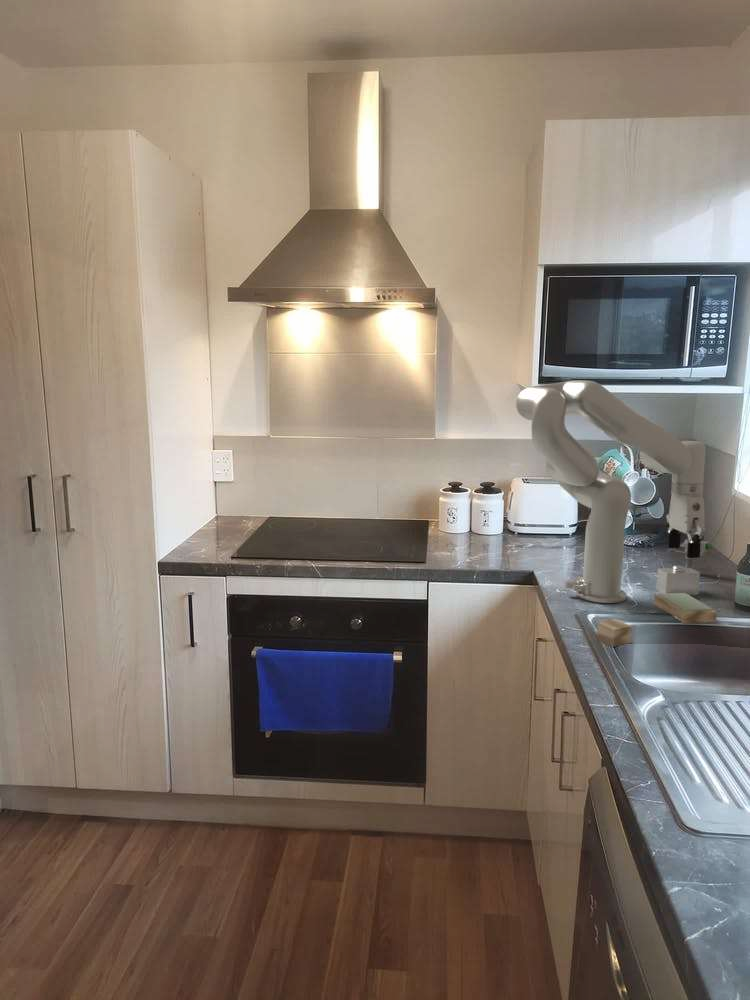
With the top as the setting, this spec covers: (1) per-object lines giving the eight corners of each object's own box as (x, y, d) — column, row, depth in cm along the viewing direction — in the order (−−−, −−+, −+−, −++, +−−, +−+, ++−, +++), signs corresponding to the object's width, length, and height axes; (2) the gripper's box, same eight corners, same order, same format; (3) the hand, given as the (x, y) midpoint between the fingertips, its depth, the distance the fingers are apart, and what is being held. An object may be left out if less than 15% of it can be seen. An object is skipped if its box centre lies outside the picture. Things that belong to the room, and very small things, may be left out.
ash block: (612, 647, 152) (614, 629, 152) (596, 639, 157) (597, 622, 156) (630, 643, 155) (631, 626, 154) (613, 635, 159) (615, 618, 158)
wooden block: (683, 623, 167) (684, 611, 166) (654, 603, 180) (654, 592, 180) (715, 622, 167) (716, 610, 167) (684, 602, 181) (685, 591, 181)
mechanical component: (671, 569, 211) (674, 536, 210) (707, 575, 205) (711, 542, 203) (667, 571, 209) (670, 538, 207) (704, 578, 203) (708, 543, 201)
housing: (665, 595, 187) (667, 569, 186) (656, 589, 192) (658, 564, 191) (698, 594, 188) (700, 569, 187) (688, 589, 193) (690, 564, 192)
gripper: (719, 494, 177) (715, 560, 180) (683, 482, 194) (679, 543, 197) (691, 495, 176) (687, 562, 180) (656, 483, 193) (653, 545, 197)
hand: (683, 552), depth 188 cm, fingers open, 9 cm apart
